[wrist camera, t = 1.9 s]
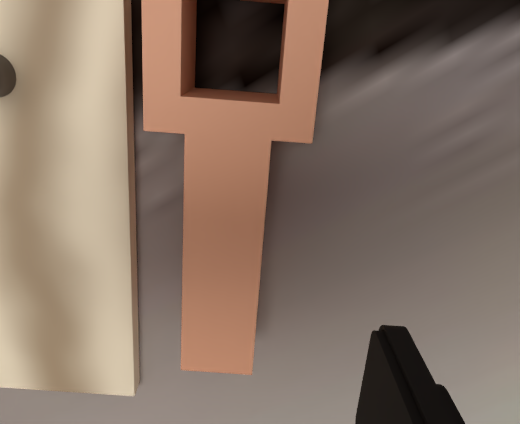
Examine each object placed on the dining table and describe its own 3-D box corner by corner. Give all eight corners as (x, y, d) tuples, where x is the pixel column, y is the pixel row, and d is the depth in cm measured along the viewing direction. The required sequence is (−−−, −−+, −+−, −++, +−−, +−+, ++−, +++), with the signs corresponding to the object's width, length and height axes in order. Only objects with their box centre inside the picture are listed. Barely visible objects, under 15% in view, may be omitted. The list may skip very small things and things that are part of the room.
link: (163, -44, 20) (140, -64, 16) (321, -31, 20) (334, -48, 16) (163, 322, 27) (147, 367, 23) (282, 330, 27) (285, 377, 23)
